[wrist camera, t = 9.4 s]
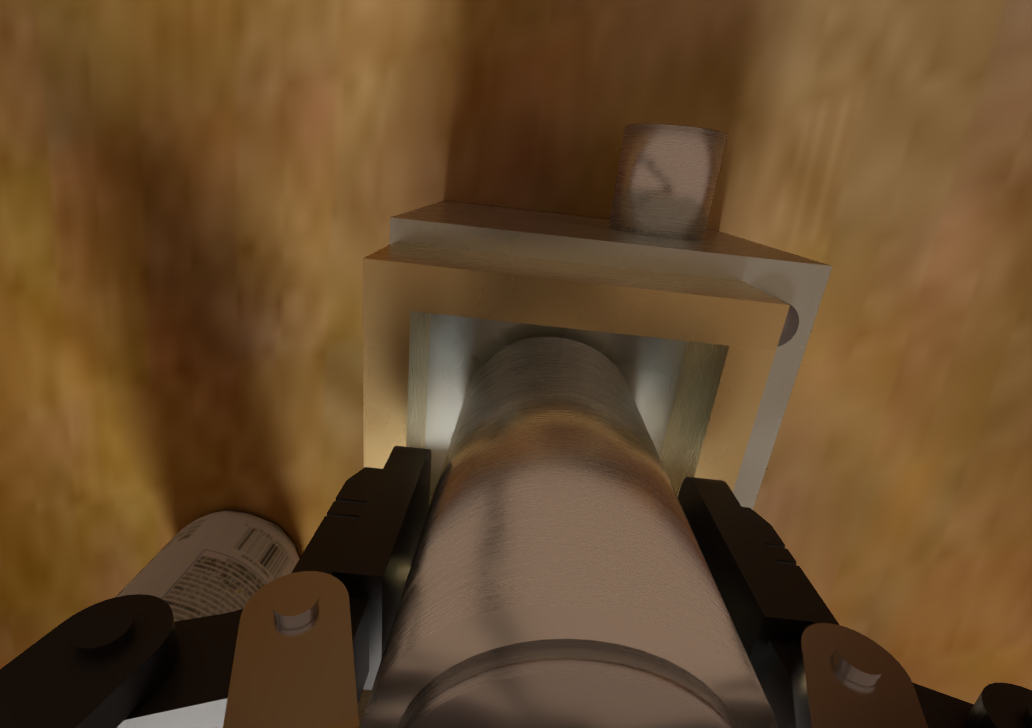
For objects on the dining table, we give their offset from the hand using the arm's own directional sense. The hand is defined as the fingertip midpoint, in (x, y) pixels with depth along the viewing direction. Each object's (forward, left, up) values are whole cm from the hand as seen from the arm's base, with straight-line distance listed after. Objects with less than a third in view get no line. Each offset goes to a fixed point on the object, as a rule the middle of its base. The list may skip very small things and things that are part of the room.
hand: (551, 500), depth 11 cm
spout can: (0, 0, -4) cm, 4 cm away
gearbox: (+1, +1, -12) cm, 12 cm away
